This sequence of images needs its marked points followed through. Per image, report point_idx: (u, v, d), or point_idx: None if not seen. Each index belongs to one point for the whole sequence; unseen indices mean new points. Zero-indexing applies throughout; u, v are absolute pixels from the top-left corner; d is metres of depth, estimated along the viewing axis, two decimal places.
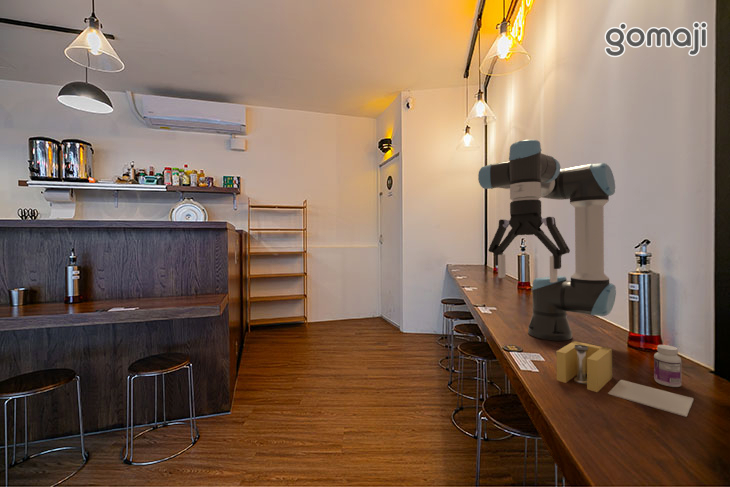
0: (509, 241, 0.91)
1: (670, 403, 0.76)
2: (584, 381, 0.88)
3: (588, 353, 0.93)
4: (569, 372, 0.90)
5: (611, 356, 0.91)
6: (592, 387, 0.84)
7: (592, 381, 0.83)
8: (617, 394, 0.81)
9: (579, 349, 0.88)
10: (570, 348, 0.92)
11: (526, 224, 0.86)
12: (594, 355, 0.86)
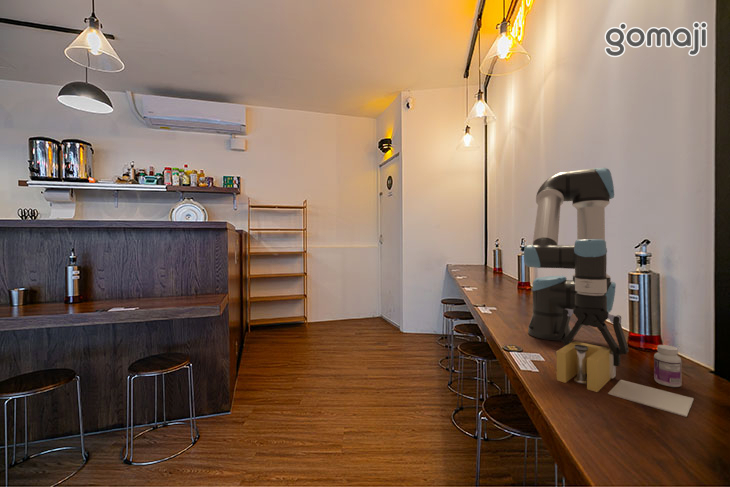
0: (577, 331, 0.96)
1: (670, 403, 0.76)
2: (584, 381, 0.88)
3: (588, 353, 0.93)
4: (569, 372, 0.90)
5: None
6: (592, 387, 0.84)
7: (592, 381, 0.83)
8: (617, 394, 0.81)
9: (579, 349, 0.88)
10: (570, 348, 0.92)
11: (592, 317, 0.92)
12: (594, 355, 0.86)
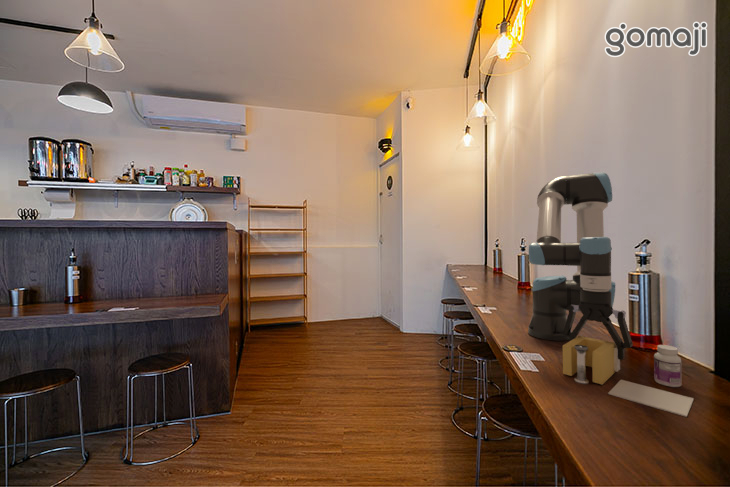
0: (582, 326, 0.99)
1: (670, 403, 0.76)
2: (584, 381, 0.88)
3: (593, 347, 0.96)
4: (575, 365, 0.93)
5: None
6: (597, 380, 0.87)
7: (597, 374, 0.87)
8: (617, 394, 0.81)
9: (579, 349, 0.88)
10: (575, 342, 0.95)
11: (597, 313, 0.95)
12: (599, 349, 0.89)
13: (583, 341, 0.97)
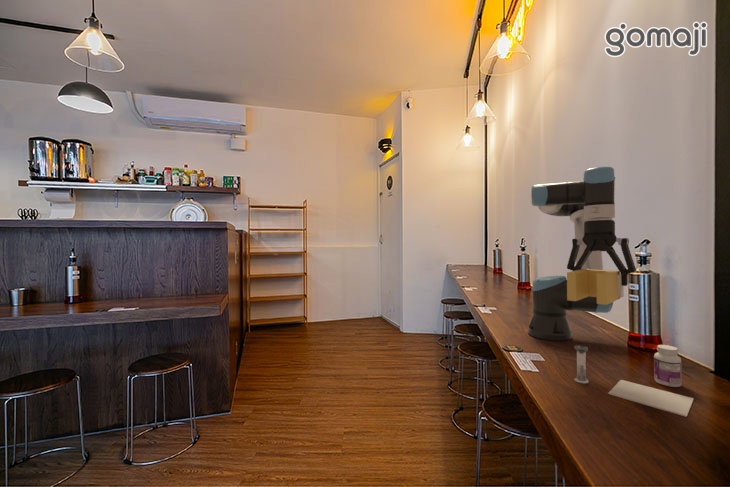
0: (586, 258, 1.01)
1: (670, 403, 0.76)
2: (584, 381, 0.88)
3: (597, 277, 0.98)
4: (579, 292, 0.94)
5: None
6: (601, 301, 0.88)
7: (601, 295, 0.88)
8: (617, 394, 0.81)
9: (579, 349, 0.88)
10: (579, 271, 0.96)
11: (601, 241, 0.96)
12: (603, 273, 0.91)
13: (587, 272, 0.99)
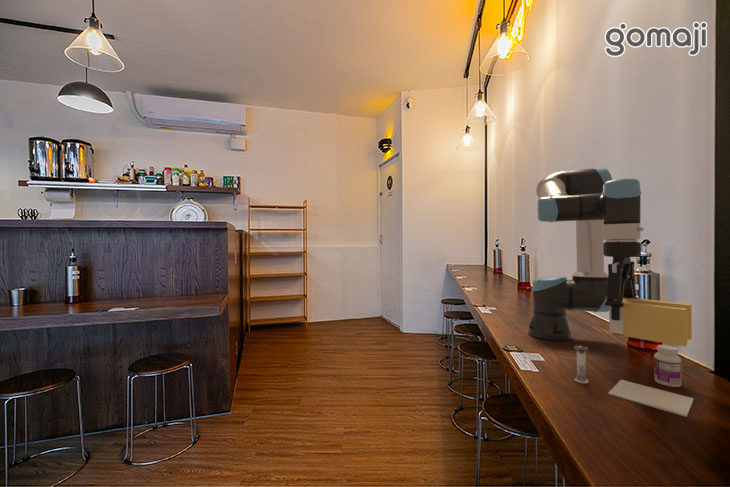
0: None
1: (670, 403, 0.76)
2: (584, 381, 0.88)
3: None
4: None
5: None
6: (691, 335, 0.77)
7: (691, 328, 0.77)
8: (617, 394, 0.81)
9: (579, 349, 0.88)
10: (656, 305, 0.76)
11: (632, 266, 0.83)
12: (668, 302, 0.79)
13: None
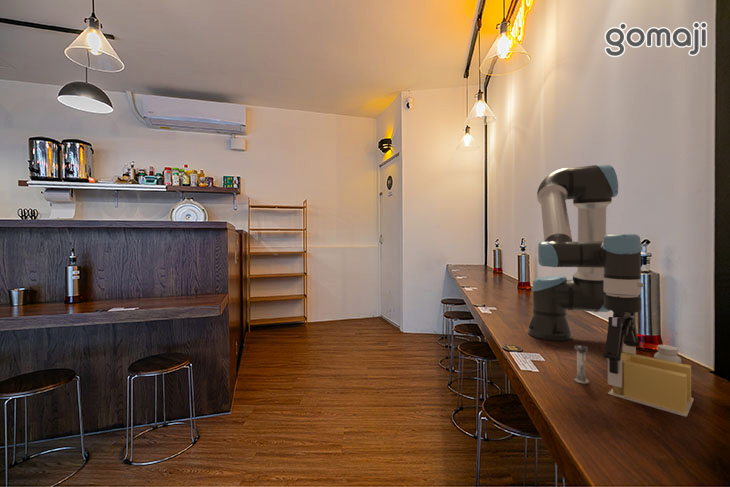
0: None
1: None
2: (584, 381, 0.88)
3: None
4: None
5: None
6: (690, 396, 0.77)
7: (690, 390, 0.77)
8: (617, 394, 0.81)
9: (579, 349, 0.88)
10: (656, 368, 0.77)
11: (632, 320, 0.83)
12: (668, 362, 0.80)
13: None
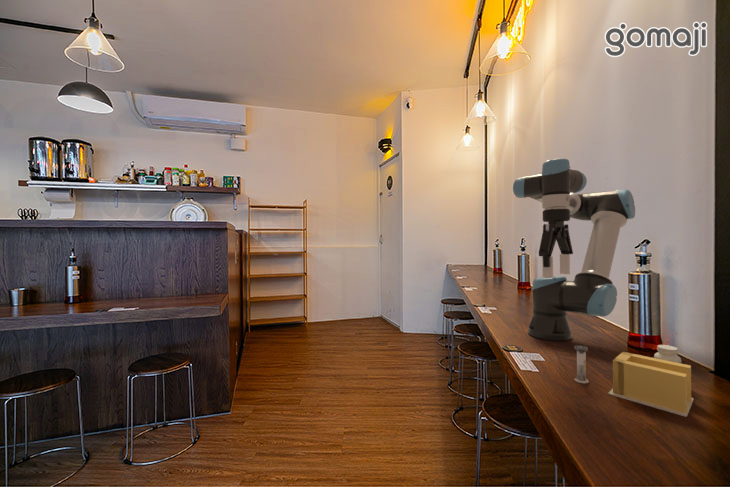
0: None
1: None
2: (584, 381, 0.88)
3: None
4: None
5: None
6: (690, 396, 0.77)
7: (690, 390, 0.77)
8: (617, 394, 0.81)
9: (579, 349, 0.88)
10: (656, 368, 0.77)
11: (564, 229, 1.03)
12: (668, 362, 0.80)
13: None
